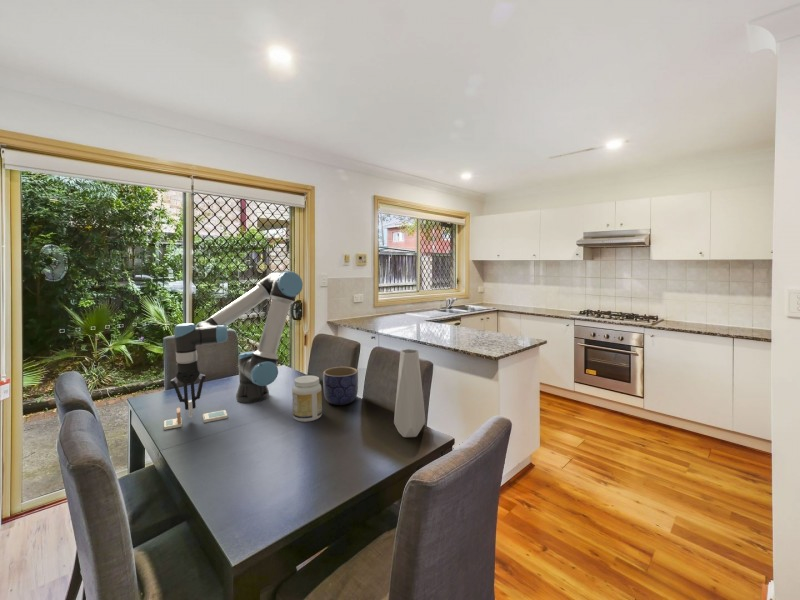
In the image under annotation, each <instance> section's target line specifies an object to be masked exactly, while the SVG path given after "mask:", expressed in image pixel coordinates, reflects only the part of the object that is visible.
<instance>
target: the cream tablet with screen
mask: <svg viewBox="0 0 800 600" xmlns="http://www.w3.org/2000/svg"><path fill="white" fill-rule="evenodd" d="M202 418H203V419H202V420H203V421H202V422H203V423H209V422H214V421H219V420H224V419H225V420H226V419H228V413H227V411H226V409H224V410H223V409H222V410H217V411H212V412H207V413H203V414H202Z"/></svg>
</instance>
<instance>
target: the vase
mask: <svg viewBox="0 0 800 600" xmlns="http://www.w3.org/2000/svg"><path fill="white" fill-rule="evenodd" d="M398 365H399V366H398V372H397V373H398V374H397V382H396V383H397V384H396V385H397V386H396V393H395V394H396V395H395V406H394V415H393V416H394V419H393V424H394V425H395V428H396V429H397V432H398V433H399V434H400V435H401V436H402V438H416V437H418V435H419V434H420V432H421V431H422V428H423V427H424V425H425V423H426V412H425V404H424V393H423V383H422V375H421V367H420V366H421V364H420V355H419V350H417V349H410V348H408V349H401V350H400V353H399V364H398Z"/></svg>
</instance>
